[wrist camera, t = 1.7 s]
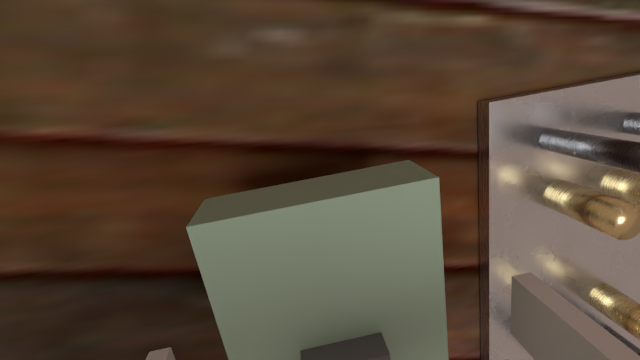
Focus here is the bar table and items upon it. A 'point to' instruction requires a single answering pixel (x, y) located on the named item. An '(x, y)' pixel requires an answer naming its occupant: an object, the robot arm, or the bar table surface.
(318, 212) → the board
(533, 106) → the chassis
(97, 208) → the bar table surface
